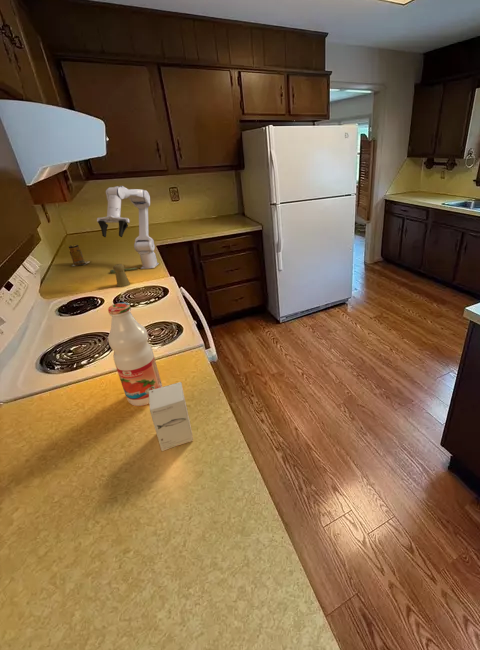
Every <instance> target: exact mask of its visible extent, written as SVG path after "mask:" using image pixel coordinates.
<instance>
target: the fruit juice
mask: <svg viewBox="0 0 480 650" xmlns="http://www.w3.org/2000/svg"><path fill="white" fill-rule="evenodd" d="M107 310H108V314H109V316H111V325H110V331H109V334H108V336H107V342H108V345H109V347H110V348H111V350H112V352H113V356H112V357H113V362H114V365H115V368H116V371H117V375H118V377H119V380H120V383H121V386H122V389H123V392H124V394H125V397H126V400H127V402H128V403H129V404H130V405H132V406H135V407H142V406H147V405H149V392H148V391H149V390H153V389H157V388H161V387H163V382H162V380H161V377H160V372H159V368H158V364H157V362H156V361H157V360H156V357H155V353H154V350H153V347H152V346H151V344H150V342H148V341H149V340H148V339H149V334H148V331H147V329H146V328H145V326H144V325H143V324H141V323H139V321H138V320H137V319H136V318H135V317H134V315H133V314H132V307H131V305H130V303H128V302H125V301H124V302H117V303H114V304H112V305H110V306H108V308H107Z"/></svg>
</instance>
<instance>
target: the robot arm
mask: <svg viewBox="0 0 480 650" xmlns="http://www.w3.org/2000/svg"><path fill="white" fill-rule="evenodd" d="M105 195H106V201H107V210H106V211H107V212H106V216H103V217H96V222H97V223H98V226H99V228H100V231H101V235H102V237H103V238H107V231H108V227H109V224H108V223H110V224H111V223H112V224H118V236H119V237H120V238H123V235H124V233H125V231H126V230H127V228H128V227H129V225H128V224H130V219H129V217H121V213H122V211H121V210H122V200H124V199H125V200H126V199H128V200H129V201H130V203H131V204H132V205H133V206H134V207H135V208H137V209H138V236H136V237H135V239H134V244H133V248H134V251H135V252H136V253H138V254H139V257H140V262H141V265H142V266H141V267H140V270H146V269H147V270H148V269H150V270H151V269H155V268H156V267H157V266H158V265H159V264H160V262H158V259H157V254H156V253H155V249H156V245H155V241H154V239H153V237H151V236H150V235H149V233H150V231H149V207H151V196H150V193H149V192H148V191H147V190H146V189H140V188H139V189H138V188H130V189H129V188H127V187H125V186H124V185H119V186H118V185H117V186H113V187H112V186H111V187H108V188H106V190H105Z"/></svg>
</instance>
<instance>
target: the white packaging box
mask: <svg viewBox="0 0 480 650" xmlns="http://www.w3.org/2000/svg"><path fill="white" fill-rule="evenodd" d="M148 392H149V404H148V405H149V412H150V416H151V420H152V424H153V426H154V430H155V433H156V437H157V441H158V443H159V447H160V451H161V452H164V451H166V450H169V449H172V448H176V447H179V446H180V445H183V444H187V443H190V442H194V436H193V431H192V426H191V421H190V416H189V412H188V406H187V402H186V398H185V393H184V388H183V383H182V381H179V382H176V383H175V382H174V383H172V384H169V385H163V386H162V387H161V388H157V389H153V390H149V391H148Z"/></svg>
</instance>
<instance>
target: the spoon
mask: <svg viewBox="0 0 480 650" xmlns="http://www.w3.org/2000/svg"><path fill="white" fill-rule="evenodd" d="M138 269H139V268H138V267H128V268H125V269H124V271H125V272H129V271H136V270H138ZM109 272H110V274H116V273H115V271H114V270H113V269H111V270H109Z"/></svg>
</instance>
